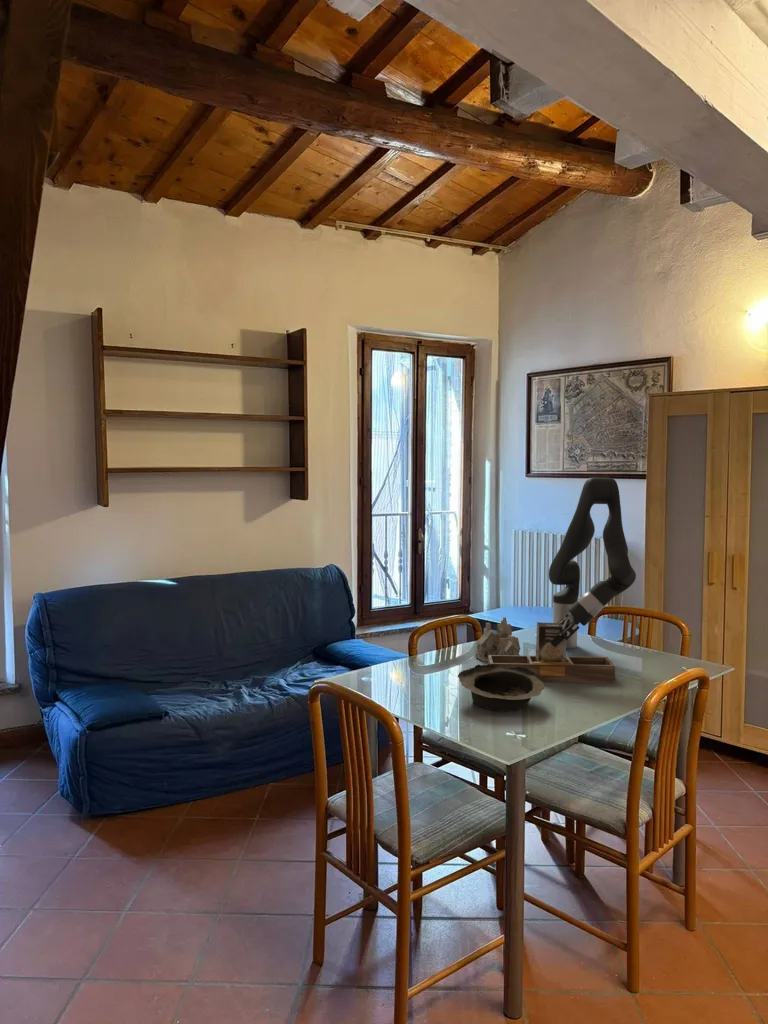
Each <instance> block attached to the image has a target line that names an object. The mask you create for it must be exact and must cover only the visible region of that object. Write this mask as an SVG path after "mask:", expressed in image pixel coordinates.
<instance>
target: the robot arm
mask: <svg viewBox="0 0 768 1024" xmlns="http://www.w3.org/2000/svg"><path fill="white" fill-rule="evenodd" d="M620 497H621V496H620V489H619V485H618V482H617V481H616V479H614V478H612V477H589V478H587V479H586V480H585V482H584V484H583V487H582V489H581V492H580V496H579V500H578V503H577V506H576V509H575V511H574V514H573V516H572V518H571V521H570V523H569V525H568V527H567V530H566V533H565V535H564V538H563V541H562V543H561V545H560V547H559V550H558V551H557V553H556V555H555V557H554V558H553V560H552V562H551V563H550V566H549V570H548V580H549V581H550V582H551V584H552V585H556V586H564V588H563V589H562V590H560V591H557V592H556V593H554V594H553V595H552V596H553V597H552V623H561V624H562V623H563V626H562V628H561V632H560V633H559V635H557V636H556V637H555V638H554V639H553V640H552V641H551V644H552V645H553V646H554V647H556V646H557V645H558V644H560V643H561V642H562V641H563V640H565V639H566V649H575V648H577V646H578V630H579V629H580V626H579V624H581V625H582V626H583V627H584V626H586V625H587V624H588V623H590V621H592V620H593V619H594V618H595V617H596V616H598V614H599V613H600V612H601V611H602V610H603V609H604V607H605V606H606V605H608V603H609V602H611V600H613V598H615V597H616V596H619V595H620V594H621V593H624V592H625V591H626V590H628V589H629V588H630V587H631V586H632V585H634V583H635V581H636V578H637V574H636V571H635V570H634V568H633V567H632V565H631V562H630V558H629V548H628V545H627V544H628V543H627V539H626V537H625V532H624V528H623V527H624V526H623V521H622V520H623V518H622V506H621V498H620ZM594 505H607V509H608V517H607V520H606V523H605V524H604V528H603V531H602V539H603V545H604V549H605V552H606V555H607V567H608V570H609V574H610V576H609V577H608V578H607V579H605V580H604V581H603V580H600V581H598V582H596V583H595V584H594V585H593V586H592V587H591V588H590V589H589V590H587V592H585V593H584V594H582V596H580V597H579V595H580V581H581V570H580V569H581V567H580V565H579V564H578V562H577V561H575V560H573V559H575V558H576V557H577V556H579V555H580V554H581V553H583V552H584V551H585V550H586V549H587V548H588V547H589V545H590V543H591V541H592V539H593V537H594V536H595V532H596V531H595V523H594V521H593V519H592V516H591V510H592V507H593V506H594ZM565 627H567V629H565Z"/></svg>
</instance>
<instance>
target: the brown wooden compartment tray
mask: <svg viewBox="0 0 768 1024" xmlns="http://www.w3.org/2000/svg"><path fill="white" fill-rule="evenodd" d="M488 664H489V665H492V664H493V665H494V666H495V665H496V666H500V667H504V668H514V667H516V668H517V667H522V668H527V669H528V670H530V671H532V672H534V674H535V675H536V678H538V679H539V680H540V681H541V682H553V683H554V682H555V683H556V682H561V683H562V682H563V683H564V682H567V683H602V684H603V683H605V684H606V683H608V684H609V683H610V684H611V683H612V684H615V683H616V665H615V664H614V663H613V662H612V661H611V659H610V658H609V657H608V656H571V655H570V656H568V655H566V662H536V655H520V656H519V655H488V662H487V665H488Z"/></svg>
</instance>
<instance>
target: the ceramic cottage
mask: <svg viewBox="0 0 768 1024" xmlns="http://www.w3.org/2000/svg"><path fill="white" fill-rule="evenodd" d="M476 643H477V645H476V646H477V648H476V651H475V654H474V658H475V657H476V658H478V659H480V660H483V661H482V662H485V661H488V655H519V656H521V654H520V652H521V646H520V640H519V637H518V636H517V637H516V636H514V635H513V631H512V624H511V623H508V622H507V617H505V616H504V617H502V619H501V621H500V623H497V626H496V632H495V633H494V632H493V631H492V624H491V623H490V622H486V623H485V628H484V632H483V634H482V635H481V636H480V638H479V639H478V640H477V641H476ZM476 658H475V659H476ZM478 659H477V660H478ZM480 660H479V661H480Z"/></svg>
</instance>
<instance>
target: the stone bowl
mask: <svg viewBox="0 0 768 1024" xmlns="http://www.w3.org/2000/svg"><path fill="white" fill-rule="evenodd" d="M457 678H458V679H459V682H460V683H461V686H462V687H464V688H465V689H467V690H468V691H470V693H471V698H472V701H473V703H474V705H476V706H478V707H479V708H483V709H484V708H485V709H488V710H492V711H493V712H496V713H497V712H509V711H510V712H515V711H517V710H518V709H520V708H523V707H525V706H526V705H528V703H530V701H531V699H532V698H534V697H537V696H540V695H541V693H542V691H543V690H545V689H546V688H545V684H544V681H540V680H539V679H538V678H536V675H535V674H534V672H532V671H530V670H528V669H527V668H522V667H517V668H516V667H514V668H504V667H500V666H496V665H495V666H494V665H493V664H492V665H489V664H488V663H487V664H485V665H484V664H479V663H478V664H477V665H474V667H470V668H469V669H468V668H467V669H465V670H462V671H460V672H458V675H457Z"/></svg>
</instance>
